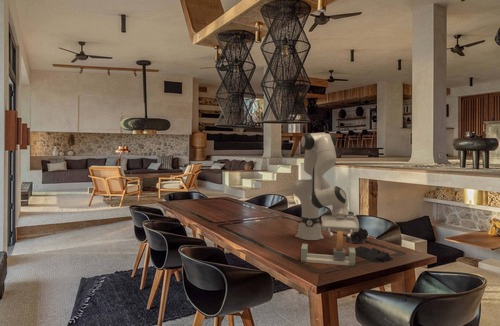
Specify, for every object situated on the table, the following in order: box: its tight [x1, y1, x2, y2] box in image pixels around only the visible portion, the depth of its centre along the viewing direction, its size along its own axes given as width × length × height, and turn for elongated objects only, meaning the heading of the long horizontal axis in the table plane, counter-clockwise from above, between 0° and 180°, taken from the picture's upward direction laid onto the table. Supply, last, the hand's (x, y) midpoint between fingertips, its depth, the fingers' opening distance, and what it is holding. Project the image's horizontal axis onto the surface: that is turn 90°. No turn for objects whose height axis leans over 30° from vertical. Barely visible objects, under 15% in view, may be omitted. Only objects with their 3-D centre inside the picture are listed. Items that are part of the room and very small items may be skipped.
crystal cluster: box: [346, 226, 369, 245], centre depth 243 cm, size 13×14×10 cm
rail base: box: [300, 243, 357, 267], centre depth 202 cm, size 10×28×7 cm, turn 78°
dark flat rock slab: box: [354, 245, 394, 264], centre depth 213 cm, size 15×22×5 cm
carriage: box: [332, 231, 346, 258], centre depth 200 cm, size 8×6×13 cm
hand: (340, 236), depth 203 cm, fingers open, 8 cm apart
